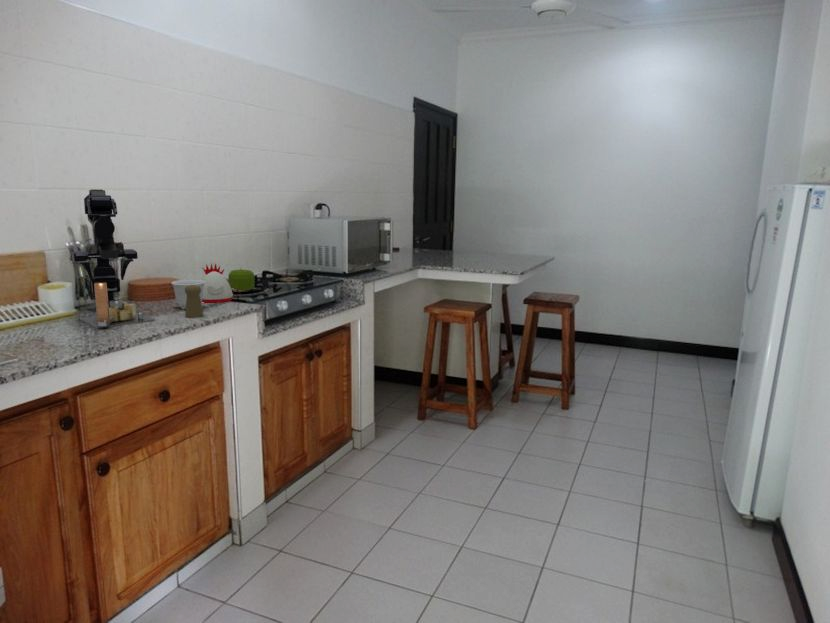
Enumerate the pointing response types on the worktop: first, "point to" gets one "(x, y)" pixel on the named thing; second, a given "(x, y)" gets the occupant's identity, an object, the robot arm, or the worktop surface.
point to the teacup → (180, 290)
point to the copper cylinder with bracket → (110, 307)
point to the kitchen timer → (216, 286)
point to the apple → (241, 279)
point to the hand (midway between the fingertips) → (107, 280)
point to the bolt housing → (137, 319)
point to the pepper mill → (193, 301)
